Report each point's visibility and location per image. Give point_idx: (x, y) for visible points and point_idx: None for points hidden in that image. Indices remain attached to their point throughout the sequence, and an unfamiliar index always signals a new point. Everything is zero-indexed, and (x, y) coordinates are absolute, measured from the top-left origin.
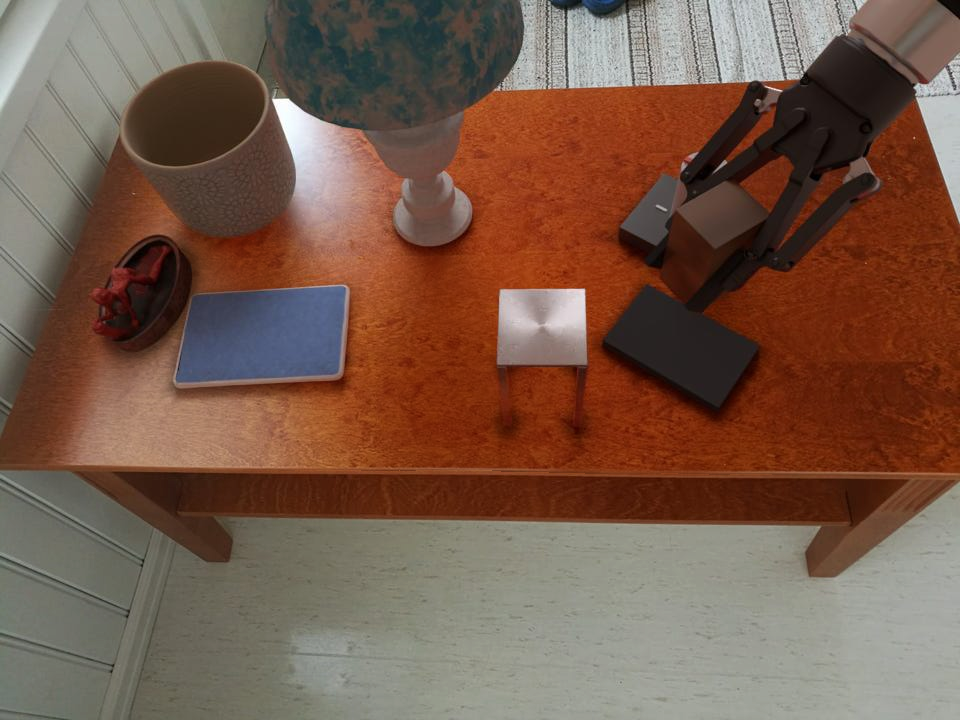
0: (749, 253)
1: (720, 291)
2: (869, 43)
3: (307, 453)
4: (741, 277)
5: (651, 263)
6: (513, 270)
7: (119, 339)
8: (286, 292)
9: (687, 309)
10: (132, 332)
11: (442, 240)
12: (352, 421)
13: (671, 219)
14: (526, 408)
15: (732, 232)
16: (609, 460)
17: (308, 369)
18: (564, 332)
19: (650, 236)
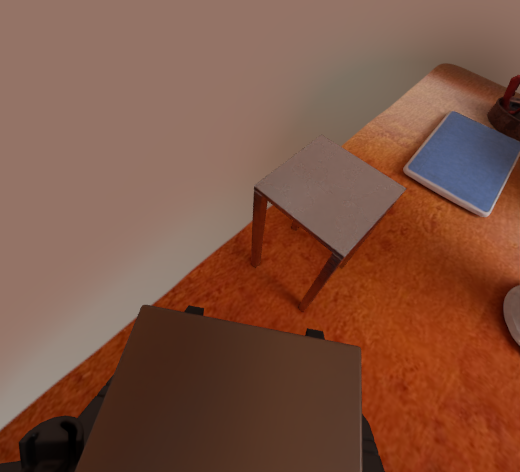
0: (57, 437)
1: None
2: None
3: (362, 137)
4: (97, 398)
5: (307, 333)
6: (436, 343)
7: (501, 101)
8: (500, 181)
9: None
10: (504, 109)
11: (508, 308)
12: (366, 162)
13: (364, 431)
14: (295, 245)
15: (119, 424)
16: (212, 259)
17: (421, 158)
18: (306, 196)
19: None
